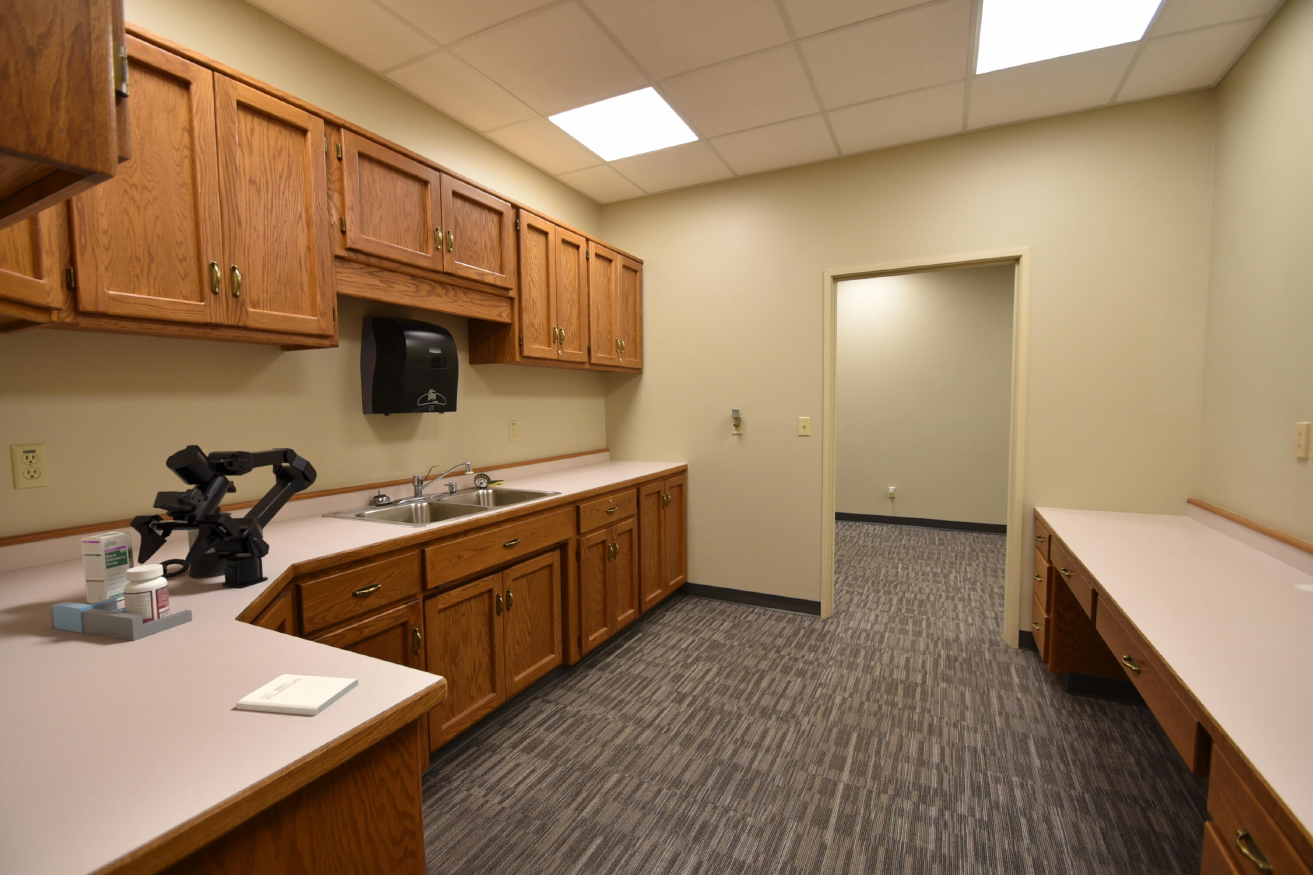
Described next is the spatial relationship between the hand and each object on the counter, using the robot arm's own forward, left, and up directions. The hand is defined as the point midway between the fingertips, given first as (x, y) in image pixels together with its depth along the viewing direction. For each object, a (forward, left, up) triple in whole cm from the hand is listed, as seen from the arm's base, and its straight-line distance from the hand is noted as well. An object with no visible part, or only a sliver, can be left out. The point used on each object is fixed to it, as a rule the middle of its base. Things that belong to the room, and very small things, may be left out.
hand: (163, 562), depth 109 cm
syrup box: (-4, -25, -11) cm, 27 cm away
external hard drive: (+16, +54, -12) cm, 57 cm away
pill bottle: (+4, +1, -11) cm, 12 cm away
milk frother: (-22, -27, -11) cm, 36 cm away
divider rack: (+4, -5, -11) cm, 13 cm away
